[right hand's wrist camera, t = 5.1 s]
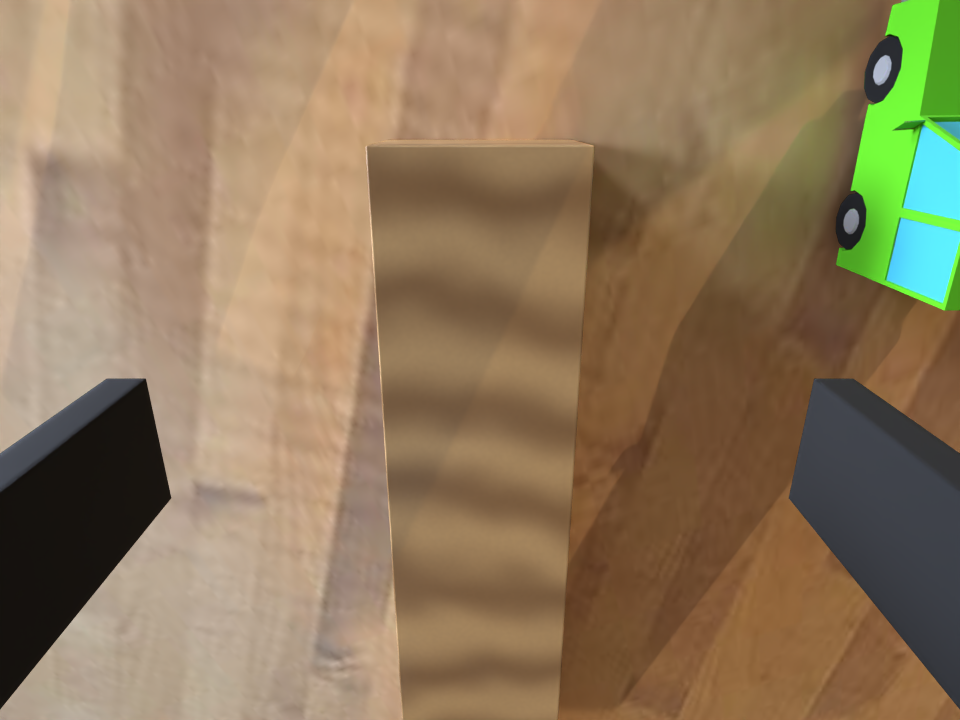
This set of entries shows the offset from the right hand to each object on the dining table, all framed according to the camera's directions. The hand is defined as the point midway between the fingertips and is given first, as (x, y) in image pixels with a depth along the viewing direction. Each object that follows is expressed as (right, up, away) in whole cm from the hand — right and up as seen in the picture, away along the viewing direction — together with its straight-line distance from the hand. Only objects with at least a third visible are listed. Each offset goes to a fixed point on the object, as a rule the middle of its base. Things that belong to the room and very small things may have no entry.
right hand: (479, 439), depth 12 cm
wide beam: (0, -20, +35) cm, 40 cm away
